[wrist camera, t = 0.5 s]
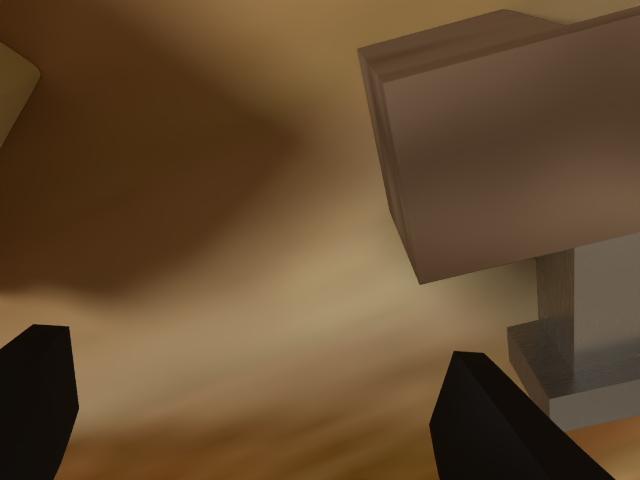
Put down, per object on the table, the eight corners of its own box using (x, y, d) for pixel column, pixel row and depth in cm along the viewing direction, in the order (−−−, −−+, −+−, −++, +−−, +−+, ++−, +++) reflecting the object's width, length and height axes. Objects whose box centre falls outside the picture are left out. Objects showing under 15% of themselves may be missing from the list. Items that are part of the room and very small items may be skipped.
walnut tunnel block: (772, 116, 18) (916, 165, 14) (389, 212, 19) (419, 284, 15) (811, -75, 15) (1007, -83, 11) (357, 49, 16) (383, 83, 12)
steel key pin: (640, 329, 23) (707, 400, 20) (508, 359, 24) (550, 434, 20) (667, 30, 17) (775, 52, 13) (485, 77, 17) (540, 112, 13)
